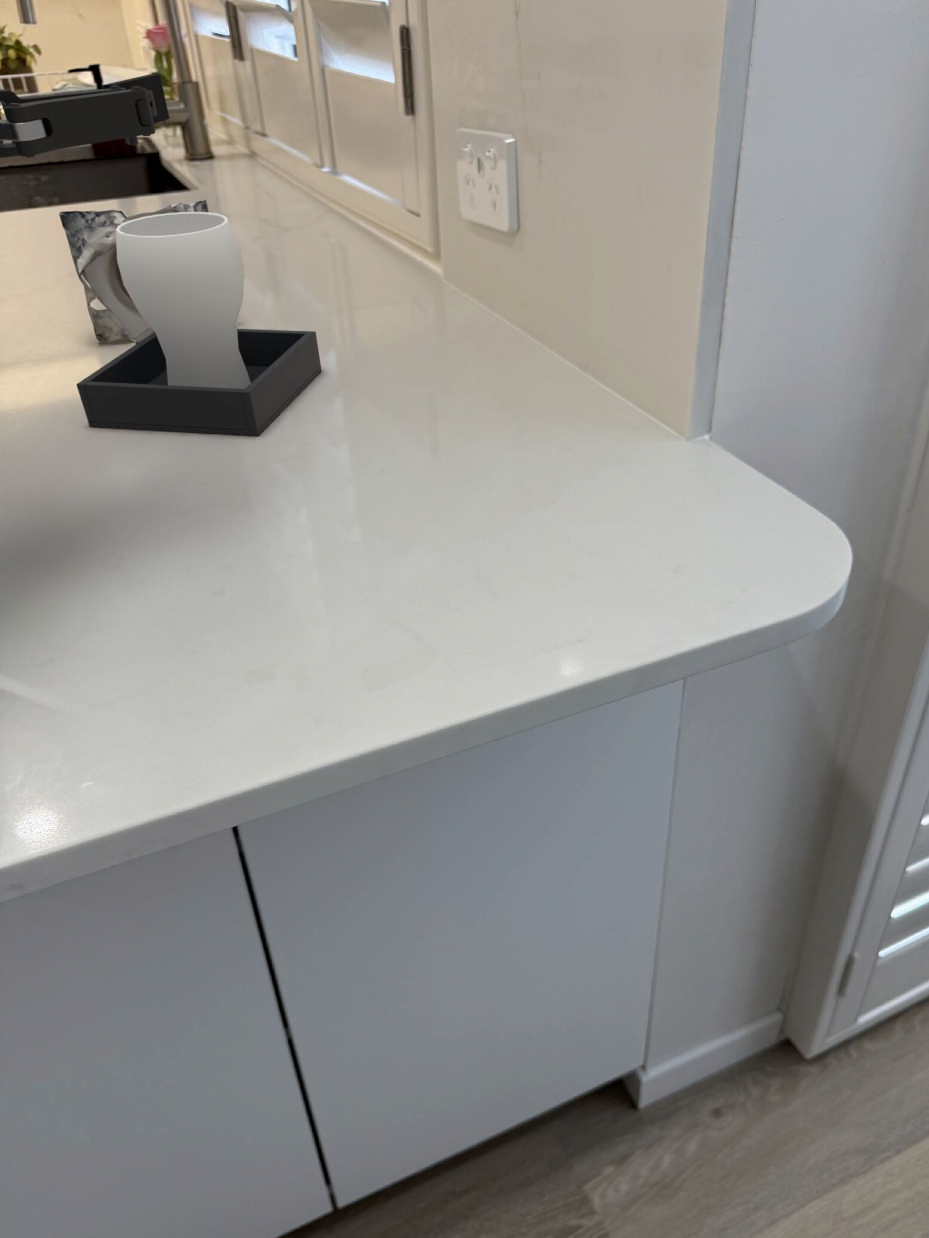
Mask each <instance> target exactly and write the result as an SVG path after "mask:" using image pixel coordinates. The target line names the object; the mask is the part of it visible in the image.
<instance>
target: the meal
mask: <svg viewBox="0 0 929 1238" xmlns="http://www.w3.org/2000/svg"><path fill="white" fill-rule="evenodd" d="M179 212H208V213H210V212H209V207H208V202H207V199H206V198H204V199H203V200H197V201H193V202H187V203H181V202H180V203H178V204H177V203H176V204H175V203H174V204H173V203H170V204H169V205H167V206H165V207H164V208H161V209H158V210H155V211H150V212H142V213H138V214H137V213H136V214H134V215H130V216H128V212H126V211H124V210H120V209H108V210H101V211H97V210H68V211H67V210H66V211H59V214H58V216H59V219H60V222H61V225H62V228H63V230H64V232H65V235H66V239H67V244H68V247H69V252H70V255H71V258H72V261H73V265H74V269H75V271H76V274H77V277H78V280H79V281H80V283H81V285H83V290H84V295H85V300H86V305H87V312H88V315H89V318H90V320H91V321H90V322H91V324H92V327H93V330H94V335H95V338H96V340H97V341H98V342H101V341H102V342H105V343H107V344H108V343H111V342H113V341H116V340H119V339H121V338H122V339H127V340H129V341H132V342H135V343H136V344H137V343H139V342H140V341H142V340H143V339H145V338H146V337H148V336H149V335H151V334H152V333H154V332H155V331H154V330H153V329H152V328H151V326H150V325H149V324H148V323H147V321H146V320H145V319H144V318H143V317H142V315H141V314H140V313H139V311H138V310H137V308H136V306H135V304H134V303H133V301H132V299H131V297H130V295H129V294H128V292H127V290H126V288H125V287H124V284H123V281H122V277H121V273H120V270H119V266H118V262H117V247H116V229H117V227H118V226H119V225H121V224H122V223H125V222H127V221H130V220H133V219H137V218H141V217H146V216H152V215H158V214H167V213H179ZM96 299H97V300H98V301H99V303H101V305H102V306H103V307H104V308H105V309H96V308H95V307H92V306H91V303H92V302H93V301H95V300H96Z"/></svg>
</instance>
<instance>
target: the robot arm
mask: <svg viewBox="0 0 929 1238" xmlns="http://www.w3.org/2000/svg"><path fill="white" fill-rule="evenodd" d="M101 86H102V88H100V89H91V90H80V91H79V90H78V91H70V92H69V91H68V92H57V93H48V94H38V95H27V96H18V95H17V94H16V93H15V92H14V91H12V90H9V89H4V88H0V104H1V107H2V110H3V114H4V116H5V119H1V118H2V117H0V159H3V158H10V157H19V156H20V157H22V158H23V157H25V158H35V157H36V156H37V155H41V154H45V153H49V152H51V151H57V150H62V149H68V148H74V147H75V148H76V147H80V146H86V145H92V144H99V143H104V142H111V141H116V140H122V139H124V142H125V144H126V145H129V146H132V147H134V146H138V145H139V144H140V143H139V140H138V139H139V138H138V137H140V136H141V137H142V136H143V137H152V135H155V134H156V128H155V124H158V123H161V122H164V121H167V120H170V114H169V110H168V105H167V100H166V95H165V92H164V86H163V81H162V77H161V73H150V74H145V75H140V76H136V77H131V78H128V79H123V80H119V81H114V82H110V83H105V84H101ZM4 141H12V142H10V143H9V144H4Z"/></svg>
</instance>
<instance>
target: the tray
mask: <svg viewBox="0 0 929 1238" xmlns="http://www.w3.org/2000/svg"><path fill="white" fill-rule="evenodd" d="M237 335H238V348H239V352H240V354H241V357H242V360H243V362H244V365H245V367H246V370H247V373H248V376H249V379H250V382H251V384H250V385H249V386H247V387H246V388H245V389H234V388H213V387H192V386H171V385H168V379H167V366H166V358H165V355H164V353H163V350H162V348H161V345H160V343H159V340H158V338H157V335H156V333H155V332H154V333H152V334H151V335H149V336H148V337H146V338H145V339H143V340H142V341H140V342H137V343H136V344H135V345H133V346H131V347H130V348H128V349H127V350H125V351H124V352H122V353H121V354H119V355H118V356H116V357H115V358H114V359H112V360H111V361H109V362H108V363H105V364H104V365H103V366H101V367H100V368H98V369H97V370H95V371H94V372H92V373H91V374H89V375H88V376H87V377H85V378H83V379H81V380H80V381H79V382H77V383H76V388H77V391H78V394H79V398H80V401H81V404H82V406H83V407H82V408H83V410H84V413H85V416H86V419H87V423H88V427H90V428H91V427H92V428H108V429H124V430H125V429H126V430H127V429H128V430H143V431H145V430H146V431H161V432H178V433H179V432H181V433H194V434H195V433H197V434H214V435H215V434H217V435H232V436H234V435H235V436H251V437H259V436H260V435H261V434H262V433H263V432H264V431H265V430H266V429H267V428H268V427H269V426H270V425H271V424H272V423H273V422H274V421H275V420H276V419H277V418H278V416H280V414H282V412H283V411H285V410H286V408H288V406H289V405H290V404H291V403H292V402H293V401H294V400H295V399H296V398H297V397H298V396H299V395H300V394H301V393H302V392H303V391H304V390H305V389H306V388H307V387H308V386H309V385H310V384H311V383H312V381H314V379H315V378H317V376H318V375H319V374H320V373H321V372H322V366H321V357H320V352H319V351H320V350H319V344H318V338H317V332H316V331H308V330H287V329H283V330H282V329H256V328H254V329H253V328H252V329H251V328H237Z"/></svg>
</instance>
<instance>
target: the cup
mask: <svg viewBox="0 0 929 1238" xmlns="http://www.w3.org/2000/svg"><path fill="white" fill-rule="evenodd" d="M116 247H117V262H118V266H119V270H120V273H121V277H122V281H123V284H124V287H125V288H126V290H127V292H128V294H129V295H130V297H131V299H132V301H133V303H134V304H135V306H136V308H137V310H138V311H139V313H140V314H141V315H142V317H143V318H144V319H145V320H146V321H147V323H148V324H149V325H150V326H151V328H152V329H153V330H154V331H155V333H156V335H157V338H158V340H159V343H160V345H161V348H162V350H163V353H164V355H165V358H166V366H167V379H168V385H171V386H192V387H213V388H234V389H245V388H246V387H247V386H249V385H250V384H251V382H250V379H249V376H248V373H247V370H246V367H245V365H244V362H243V360H242V357H241V354H240V352H239V348H238V335H237V329H238V318H239V315H240V313H241V308H242V305H243V299H244V289H245V288H244V286H245V267H244V261H243V255H242V250H241V246H240V244H239V242H238V240H237V236H236V234H235V232H234V230H233V227H232V225H231V222H230V220H229V218H227V217H226V216H225V215H223V214H219V213H216V212H215V213H214V212H179V213H167V214H158V215H152V216H146V217H141V218H137V219H133V220H130V221H127V222H125V223H122V224H121V225H119V226H118V227H117V229H116Z"/></svg>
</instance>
